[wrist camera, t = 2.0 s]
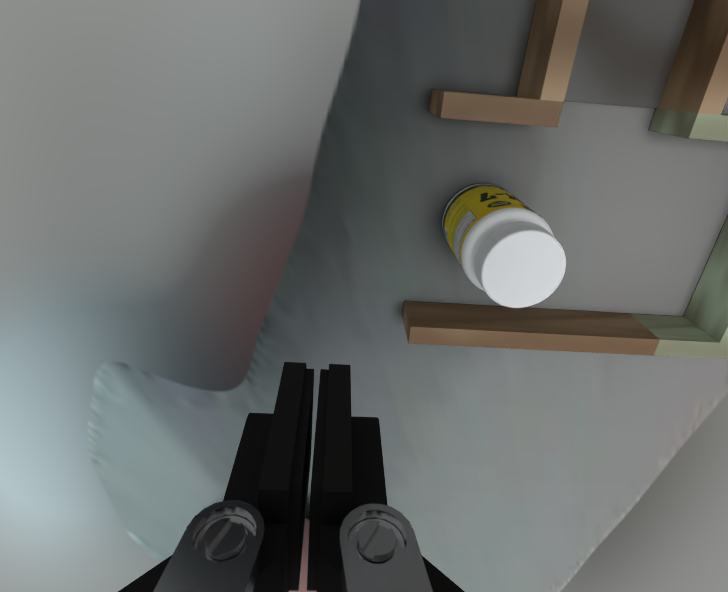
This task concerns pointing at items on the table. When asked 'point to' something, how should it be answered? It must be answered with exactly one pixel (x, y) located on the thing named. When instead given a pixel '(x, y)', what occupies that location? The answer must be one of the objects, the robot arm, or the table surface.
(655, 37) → the zigzag wooden rail
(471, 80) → the table surface
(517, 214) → the supplement bottle
